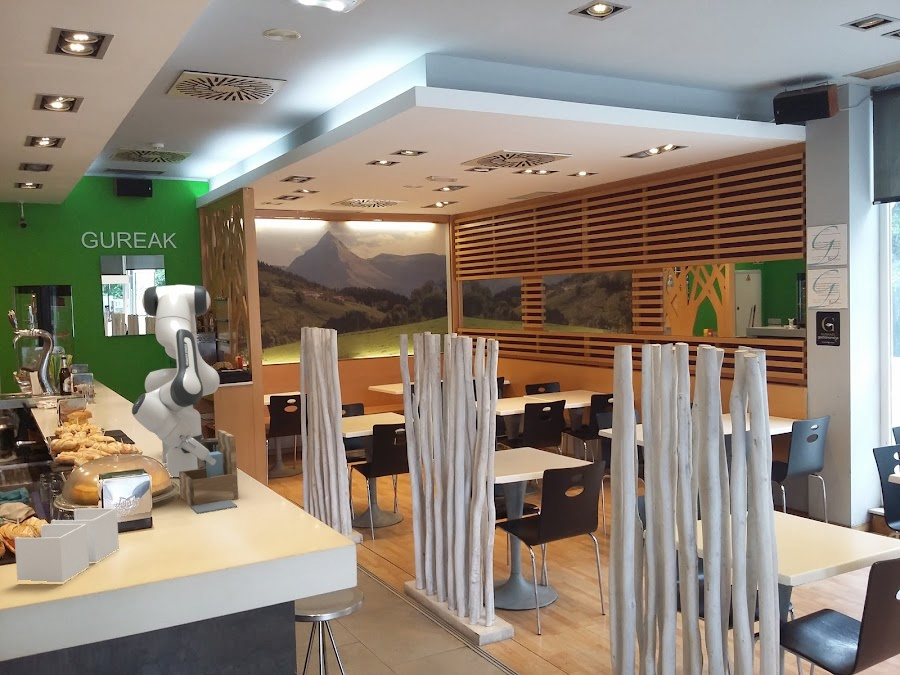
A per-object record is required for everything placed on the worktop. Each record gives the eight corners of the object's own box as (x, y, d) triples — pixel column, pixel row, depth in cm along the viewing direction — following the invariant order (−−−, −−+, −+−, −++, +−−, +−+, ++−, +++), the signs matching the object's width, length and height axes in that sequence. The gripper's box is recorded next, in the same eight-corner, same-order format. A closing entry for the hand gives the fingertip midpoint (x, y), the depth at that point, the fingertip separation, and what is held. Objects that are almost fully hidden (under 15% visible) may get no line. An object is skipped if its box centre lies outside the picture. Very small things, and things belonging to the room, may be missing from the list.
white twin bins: (63, 585, 184) (59, 537, 183) (17, 585, 185) (14, 538, 185) (119, 550, 209) (116, 508, 208) (78, 550, 210) (76, 508, 209)
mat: (190, 507, 248) (190, 506, 248) (229, 501, 254) (229, 499, 254) (197, 513, 240) (197, 512, 240) (237, 507, 246) (237, 505, 246)
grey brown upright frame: (231, 484, 277) (228, 437, 276) (224, 488, 271) (221, 441, 270) (205, 484, 278) (202, 438, 277) (197, 489, 272) (195, 441, 271)
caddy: (180, 496, 263) (176, 435, 262) (225, 489, 270) (221, 429, 269) (191, 506, 249) (187, 442, 248) (238, 498, 256) (234, 436, 255)
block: (207, 483, 262) (205, 452, 261) (219, 481, 264) (218, 451, 263) (211, 486, 257) (209, 455, 257) (223, 484, 259) (222, 453, 259)
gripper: (191, 430, 246) (225, 458, 252) (177, 422, 264) (209, 448, 269) (177, 447, 244) (212, 474, 250) (164, 437, 262) (196, 463, 267)
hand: (210, 460), depth 260 cm, fingers open, 8 cm apart
